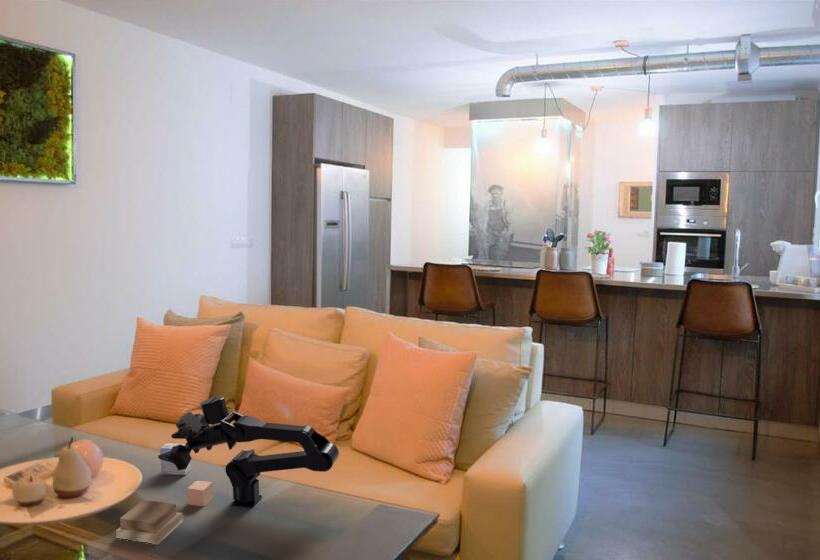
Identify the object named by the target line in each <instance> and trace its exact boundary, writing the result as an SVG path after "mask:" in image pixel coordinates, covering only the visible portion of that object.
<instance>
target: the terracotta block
mask: <svg viewBox="0 0 820 560" xmlns="http://www.w3.org/2000/svg"><path fill="white" fill-rule="evenodd" d="M213 499H214V489H213V482H212V481H205V480H204V481H203V480H196V481H194V482H193V483H192V484H191V485H189V486H188V487H187V503H188V504H187V505H189V506H198V507H205V506H206V505H208V504H209V503H210V502H211V501H212V500H213Z"/></svg>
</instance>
